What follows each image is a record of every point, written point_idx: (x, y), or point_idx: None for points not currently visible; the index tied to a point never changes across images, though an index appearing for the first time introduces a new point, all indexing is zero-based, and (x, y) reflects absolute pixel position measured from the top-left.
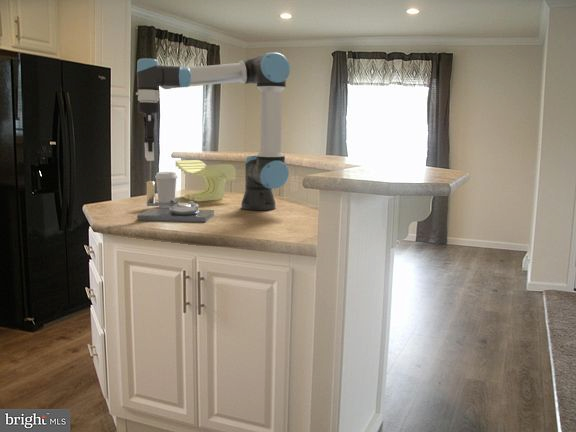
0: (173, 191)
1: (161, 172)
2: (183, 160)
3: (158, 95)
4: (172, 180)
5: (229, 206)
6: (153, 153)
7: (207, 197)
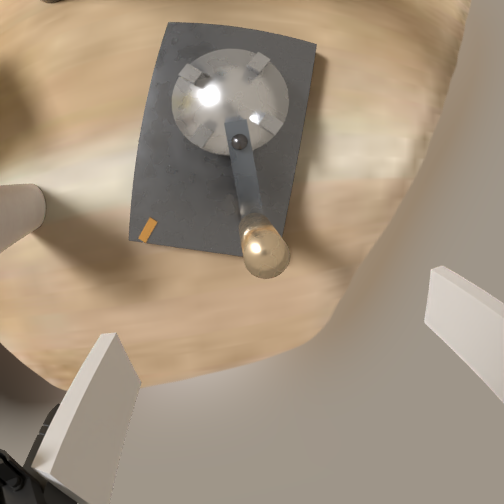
0: (4, 188)
1: None
2: None
3: None
4: None
5: (34, 34)
6: (481, 295)
7: None
